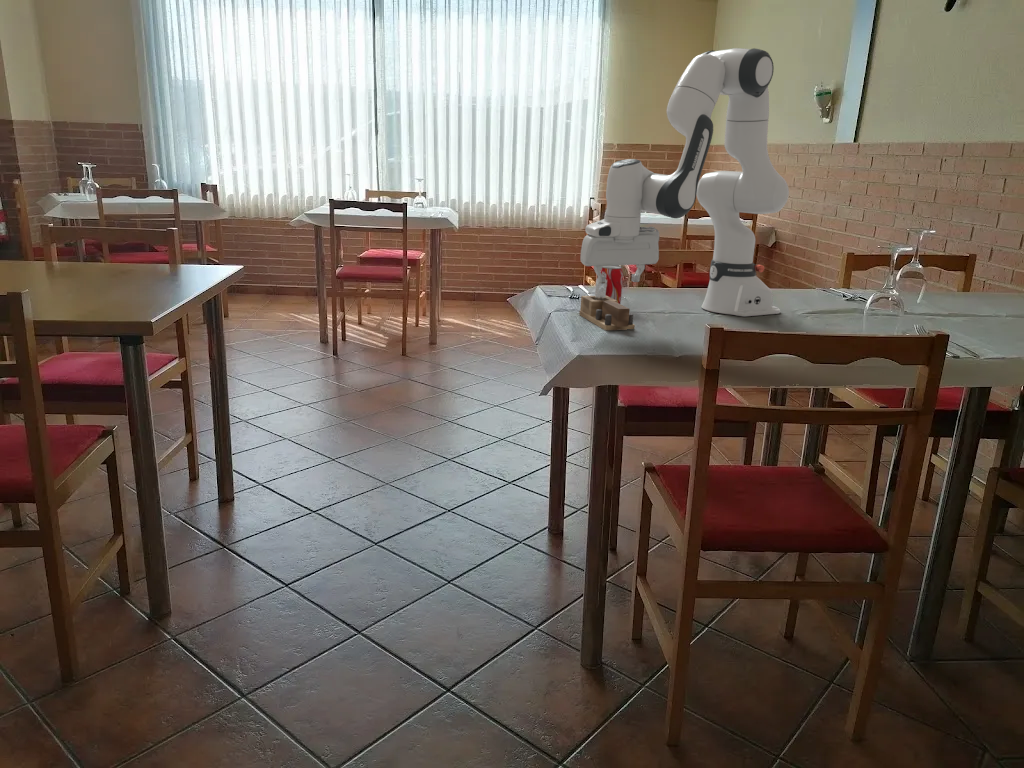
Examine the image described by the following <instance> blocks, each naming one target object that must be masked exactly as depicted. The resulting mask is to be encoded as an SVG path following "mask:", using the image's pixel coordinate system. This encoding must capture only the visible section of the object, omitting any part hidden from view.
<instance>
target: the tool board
mask: <svg viewBox="0 0 1024 768" xmlns="http://www.w3.org/2000/svg"><path fill="white" fill-rule="evenodd" d="M580 299H581V300H580V310H579V313H578V315H579V316H581V317H582V318H584V319H586V320H587V321H589V322H591V323H592V324H594V325H595V326H597V327H599V328H601V329H602V330H604V331H628V330H627V329H634V330H635V328H636V327H635V325H636V324H634V314H633V313H629V322H628V326H622V327H617V326H615V325H613V324H612V323H611V320H612V315H610V314H606V315H605V320H604V319H603V318H602V306H603V301H615V302H618V301H617V300H615V299H613V298H610V297H608V296H605V300H595V295H581V296H580Z"/></svg>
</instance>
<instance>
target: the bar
mask: <svg viewBox="0 0 1024 768" xmlns="http://www.w3.org/2000/svg"><path fill="white" fill-rule="evenodd" d="M630 311H631V309H630V308H629V307H627V306H625V305H623V304H622V303H621V304H619V303H617V302H615V301H603V306H602V318H603V319H604V320H605V315H606V314H610V315H612V320H611V323H612V324H613V325H615V326H617V327H622V326H628V322H629V314H630Z"/></svg>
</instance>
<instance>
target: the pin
mask: <svg viewBox="0 0 1024 768" xmlns="http://www.w3.org/2000/svg"><path fill="white" fill-rule="evenodd" d="M606 285H607V280H605V283H598V282H597V278H596V280H595V292H594V296H595V300H605V295H606Z"/></svg>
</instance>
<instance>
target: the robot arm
mask: <svg viewBox="0 0 1024 768" xmlns="http://www.w3.org/2000/svg"><path fill="white" fill-rule="evenodd" d="M774 69H775V68H774V62H773V59H772V57H771V55H770V54H769V52H768V51H765V50H763V49H760V48H755V47H754V48H739V47H734V48H733V47H732V48H731V47H730V48H729V49H720V50H708V51H705V52H702V53H701V54H698V55H696V56H694V57H693V59H691V61H690V62H689V63H688V65H687V66H686V68H685V70H684V71H682V72H683V73H682V74H681V76H680V77H679V79H678V81H677V83H676V85H675V87H674V88H673V90H672V93H671V96H670V98H669V100H668V102H667V106H666V117H667V120H668V122H669V124H670V125H671V127H673V129H675V131H677V132H678V133H679V134H681V135H682V136H684V137H685V145H684V148H683V151H682V154H681V157H680V160H679V163H678V166H677V168H676V170H675V171H674V172H673V173H671V174H662V173H654V172H653V171H651V170H649V169H648V168H647V167H645V165H643V164H642V161H641V160H640V159H635V158H632V159H631V158H628V159H621V160H620V159H619V160H617V161H615V162H613V163H612V164H611V165H610V167H609V171H608V173H607V179H606V189H605V190H606V191H605V199H606V209H605V210H604V211H605V212H604V218H603V219H600V220H597V221H595V222H592V223H589V224H587V225H586V226H585V230H584V231H585V233H586V234H587V235H585V236H584V237H583V239H582V243H581V249H580V262H581V263H582V265H584V266H586V267H593V270H594V272H595V274H596V276H597V278H596V279H597V282H598V283H605V278H606V277H605V276H603V275H602V274H601V272H600V270H602V266H610V265H617V266H632V265H633V266H635V265H636V266H635V267H636V268H637V269H636V271H635V273H632V274H631V282H633V283H639V282H640V279H641V275H642V274H643V272H644V270H645V269H646V268H645V267H646V265H655V264H657V263H658V261H659V258H660V257H659V256H660V251H659V249H660V248H659V242H660V231H659V230H658V229H657V228H655V227H654V226H649V227H648V226H641V216H642V214H641V212H644V213H650V214H654V215H662V216H664V217H668V218H671V219H681V218H682V217H684V216H686V215H687V214H688V213H689V212H690V211H691V209H692V208H693V207H694V205H695V203H696V200H697V202H698V203H699V204H700V206H701V207H703V208H704V210H705V211H706V212H707V214H708V215H709V217H710V220H711V222H712V224H713V230H714V243H713V245H714V246H713V247H714V248H713V254H712V255H713V256H712V259H711V261H710V268H709V282H708V286H707V290H706V294H705V296H704V300H703V302H702V305H701V308H702V309H703V310H705V311H708V312H713V313H719V314H725V315H733V316H738V317H751V316H752V317H753V316H763V315H765V316H766V315H775V314H777V315H778V314H780V313H781V310H780V308H779V307H777V306H775V305H774V295H773V291H772V289H771V288H770V287H768V286H767V285H766V284H765V282H763V281H762V280H761V279H760V278H759V277H758V276H757V272H759V273H763V272H764V271H765V266H764V265H762V264H757V265H756V264H755V263H754V262H753V261H754V254H755V247H756V235H755V233H754V231H753V230H752V229H751V228H749V227H747V226H746V225H745V224H743V223H742V219H741V218H740V213H746V214H753V215H766V214H775V213H778V212H780V211H781V210H782V209H783V208H784V207H785V206H786V204H787V202H788V200H789V195H790V187H789V185H788V183H787V180H786V179H785V178H784V177H783V176H782V175H781V174H780V173H778V171H777V170H776V168H775V167H774V165H773V163H772V161H771V159H770V156H769V155H770V154H769V151H768V132H769V129H768V128H769V117H770V95H769V94H770V93H769V85H770V83H771V81H772V79H773V76H774ZM720 95H723V96H728V103H727V108H726V117H725V119H726V120H725V131H724V143H723V144H724V149H725V151H726V153H727V154H728V155H729V156H730V157H731V158H733V159H735V160H736V161H737V162H738V163H739V164H740V167H741V170H742V171H733V170H732V171H731V170H718V171H711V172H707V173H706V172H705V173H704V174H703V175H702V172H703V169H704V165H705V162H706V159H707V156H708V153H709V149H710V146H711V143H712V139H713V135H714V134H713V133H714V123H713V120H712V114H713V111H714V109H715V106H716V105H717V102H718V99H719V98H720ZM701 175H702V176H701Z"/></svg>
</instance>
